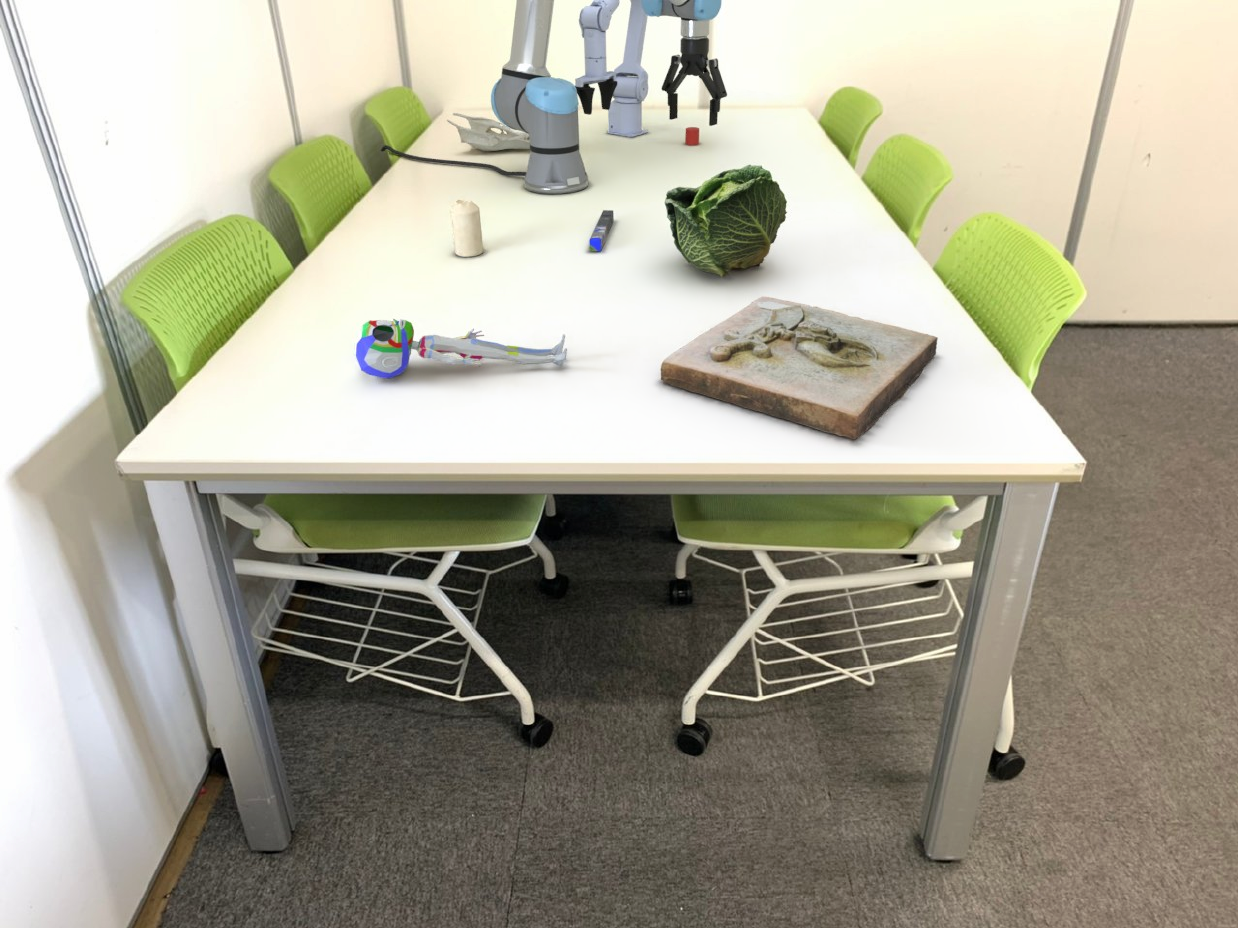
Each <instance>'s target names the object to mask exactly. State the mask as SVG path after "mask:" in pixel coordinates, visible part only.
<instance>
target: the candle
mask: <svg viewBox="0 0 1238 928" xmlns="http://www.w3.org/2000/svg"><path fill="white" fill-rule="evenodd" d="M449 212H450V213H449V214H450V222H451V228H452V231H451V232H452V239H453V247H454V253H455V255H457V256H459V257H465V258H466V257H467V258H468V257H475V256H479V255H481V254H483V252H484V242H483V234H482V233H483V232H482V231H483V230H482V222H481V221H482V220H481V212H480V207H479V205H478V204H476V203H475V202H474V201H472V200H470V201H468V200H465V199H464V200H462V199H457V200H456V201H455V202H454V203H453V205H452V206H451V207H450V209H449Z"/></svg>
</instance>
